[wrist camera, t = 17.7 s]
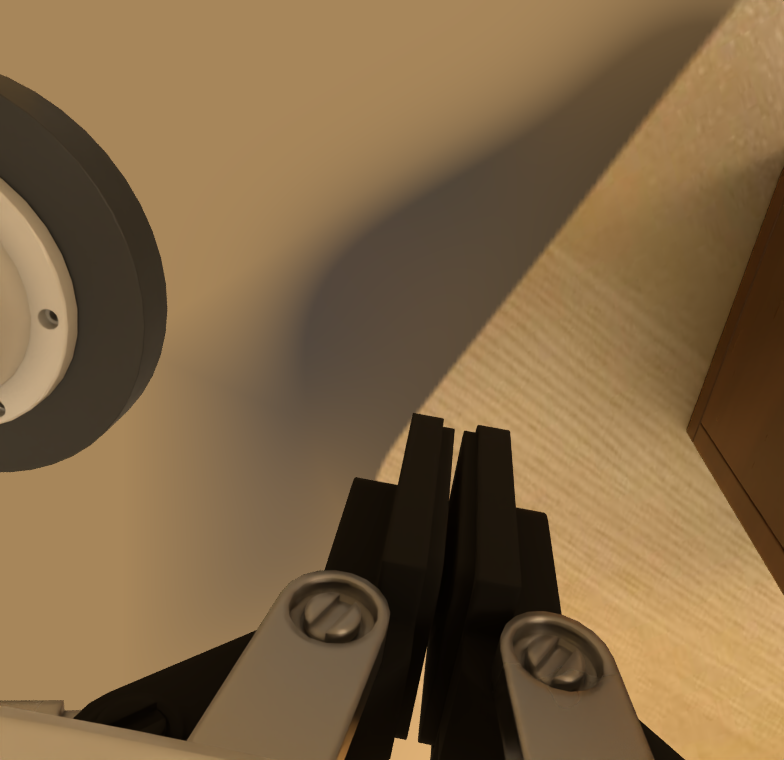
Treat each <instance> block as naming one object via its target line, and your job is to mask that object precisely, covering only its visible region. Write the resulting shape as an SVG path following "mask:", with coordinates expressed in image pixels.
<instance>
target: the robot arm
mask: <svg viewBox="0 0 784 760" xmlns="http://www.w3.org/2000/svg"><path fill="white" fill-rule="evenodd" d="M77 335H78V331H77V304H76V299H75V294H74V289H73V283H72V280H71V277H70V275H69V272H68V269H67V267H66V264H65V261H64V259H63V256H62V254H61V252H60V250H59V248H58V247H57V245H56V243H55V241H54V240H53V238H52V236H51V234H50V233H49V231H48V229H47V228H46V226H45V225H44V224H43V222H42V221H41V220H40V218H39V217H38V216H37V215H36V213H35V212H34V211H33V210H32V208H31V207H30V206H29V205H28V203H27V202H26V201H25V200H24V199H23V198H22V197H21V196H20V195H19V194H18V193H16V192H15V191H14V190H13V189H12V188H11V187H10V186H9V185H8V184H7V183H6V182H5V181H4V180H3V179H1V178H0V424H2V423H5V422H9V421H12V420H14V419H16V418H17V417H19V416H21V415H23V414H24V413H26V412H28V411H30V410H31V409H33V408H34V407H35V406H36V405H38V404H39V403H40V402H41V401H43V400H44V399H45V398H46V397H48V396H49V395H50V394H51V393H52V391H53V390H54V389H55V388H56V387H57V385H58V384H59V383H60V382H61V380H62V379H63V378H64V375H65V373H66V371H67V369H68V367H69V365H70V363H71V360H72V358H73V354H74V349H75V344H76V340H77ZM443 422H444V419H443V418H438V417H432V416H427V415H421V414H416V413H413V415H412V420H411V425H410V430H409V434H408V439H407V444H406V449H405V453H404V458H403V463H402V468H401V473H400V477H399V482H398V485H394V484H389V483H384V482H378V481H373V480H368V479H362V478H357V477H356V478H354V481H353V484H352V486H351V489H350V493H349V496H348V499H347V502H346V505H345V508H344V511H343V514H342V518H341V520H340V524H339V527H338V530H337V533H336V536H335V539H334V542H333V545H332V549H331V552H330V555H329V558H328V561H327V564H326V567H325V570H324V571H316V572H312V573H308V574H304V575H302V576H300V577H298V578H297V579H295V580H293V581H291V582H290V583H289V584H288V585H287V586H286V587H285V588H284V589H283V590H282V592H281V593H280V594H279V596H278V598H277V599H276V601H275V603H274V604H273V605H272V607H271V609H270V610H269V612H268V613H267V615H266V617H265V618H264V620H263V621H262V623H261V624H260V626H259V628H258V629H257V630H256V631H254V632H251V633H249V634H246V635H244V636H242V637H239V638H237V639H234V640H232V641H230V642H228V643H225V644H223V645H220V646H218V647H215V648H213V649H211V650H208V651H206V652H204V653H201V654H199V655H196V656H194V657H192V658H189V659H187V660H185V661H182V662H180V663H177V664H175V665H173V666H170V667H168V668H166V669H163V670H161V671H159V672H156V673H154V674H151V675H149V676H147V677H144V678H142V679H140V680H137V681H135V682H132V683H130V684H128V685H125V686H123V687H120V688H118V689H116V690H114V691H111V692H109V693H107V694H105V695H103V696H101V697H100V698H98V699H96V700H94V701H92V702H91V703H89V704H88V705H87V706H86V707H85V708H84V709H82V710H80V711H79V710H76V711H74V710H72V711H64V701H62V700H60V701H58V700H57V701H56V700H49V701H0V760H389V759H390V757H391V752H392V747H393V743H394V738H400V739H404V740H406V739H407V736H408V731H409V726H410V722H411V717H412V712H413V708H414V703H415V699H416V695H417V690H418V685H419V681H420V676H421V672H422V667H423V663H424V658H425V653H426V649H427V653H426V663H425V673H424V684H423V694H422V704H421V714H420V724H419V736H418V742H419V743H424V744H428V745H431V758H430V760H685V759H684V758H682V757H681V756H680V755H679V754H678V753H677V752H676V751H674V750H673V749H672V748H671V747H670V746H669V745H667V744H666V743H665V742H664V741H663V740H662V739H661V738H659V737H658V736H657V735H656V734H655V733H654V732H653V731H651V730H650V729H649V728H648V727H647V726H646V725H645V724H643V723H642V722H641V721H640V720H639V719H638V717H637V715H636V712H635V710H634V707H633V705H632V702H631V700H630V697H629V695H628V692H627V690H626V687H625V685H624V682H623V680H622V677H621V675H620V672H619V670H618V667H617V665H616V662H615V660H614V658H613V656H612V654H611V653H610V651H609V649H608V647H607V646H606V644H605V643H604V642H603V641H602V640H601V639H600V638H599V637H598V636H597V635H596V634H595V633H594V632H593V631H591V630H590V629H588V628H587V627H585V626H584V625H582V624H581V623H580V622H578V621H576V620H573V619H571V618H568V617H566V616H564V615H562V614H561V607H560V600H559V593H558V587H557V580H556V573H555V566H554V559H553V552H552V545H551V538H550V531H549V524H548V519H547V515H546V514H545V513H542V512H537V511H532V510H527V509H521V508H516V504H515V491H514V477H513V464H512V450H511V437H510V431H509V430H503V429H498V428H492V427H487V426H482V425H478V426H477V429H476V432H475V433H474V432H469V431H464V433H463V437H462V442H461V447H460V451H459V456H458V461H457V465H456V470H455V475H454V480H453V484H452V489H451V494H450V499H449V493H450V481H451V469H452V456H453V444H454V432H455V429H452V428H447V427H443Z"/></svg>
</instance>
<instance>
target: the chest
mask: <svg viewBox="0 0 784 760" xmlns="http://www.w3.org/2000/svg"><path fill="white" fill-rule="evenodd" d="M687 434H688V436H689V437H690V439H691V441H692V442H693V444H694V446H695V447H696V449H697V451H698V452H699V454H700V456H701V457H702V459H703V461H704V462H705V464H706V466H707V467H708V469H709V471H710V472H711V474H712V476H713V477H714V479H715V481H716V482H717V484H718V486H719V488H720V489H721V491H722V493H723V494H724V496H725V498H726V499H727V501H728V503H729V504H730V506H731V508H732V509H733V511H734V513H735V514H736V516H737V518H738V519H739V521H740V523H741V524H742V526H743V528H744V529H745V531H746V533H747V534H748V536H749V538H750V540H751V541H752V543H753V545H754V546H755V548H756V550H757V551H758V553H759V555H760V556H761V558H762V560H763V561H764V563H765V565H766V566H767V568H768V570H769V571H770V573H771V575H772V576H773V578H774V580H775V581H776V583H777V585H778V587H779V588H780V590H781V592H782V593H783V595H784V168H783V170H782V173H781V176H780V179H779V181H778V184H777V187H776V189H775V192H774V195H773V198H772V200H771V203H770V206H769V208H768V211H767V214H766V217H765V219H764V222H763V225H762V227H761V230H760V233H759V236H758V238H757V241H756V244H755V246H754V249H753V252H752V255H751V257H750V260H749V263H748V265H747V268H746V271H745V274H744V276H743V279H742V282H741V284H740V287H739V290H738V293H737V295H736V298H735V301H734V304H733V306H732V309H731V312H730V314H729V317H728V320H727V323H726V325H725V328H724V331H723V333H722V336H721V339H720V342H719V344H718V347H717V350H716V352H715V355H714V358H713V361H712V363H711V366H710V369H709V371H708V374H707V377H706V380H705V382H704V385H703V388H702V390H701V393H700V396H699V399H698V401H697V404H696V407H695V409H694V412H693V415H692V418H691V420H690V423H689V426H688V428H687Z"/></svg>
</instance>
